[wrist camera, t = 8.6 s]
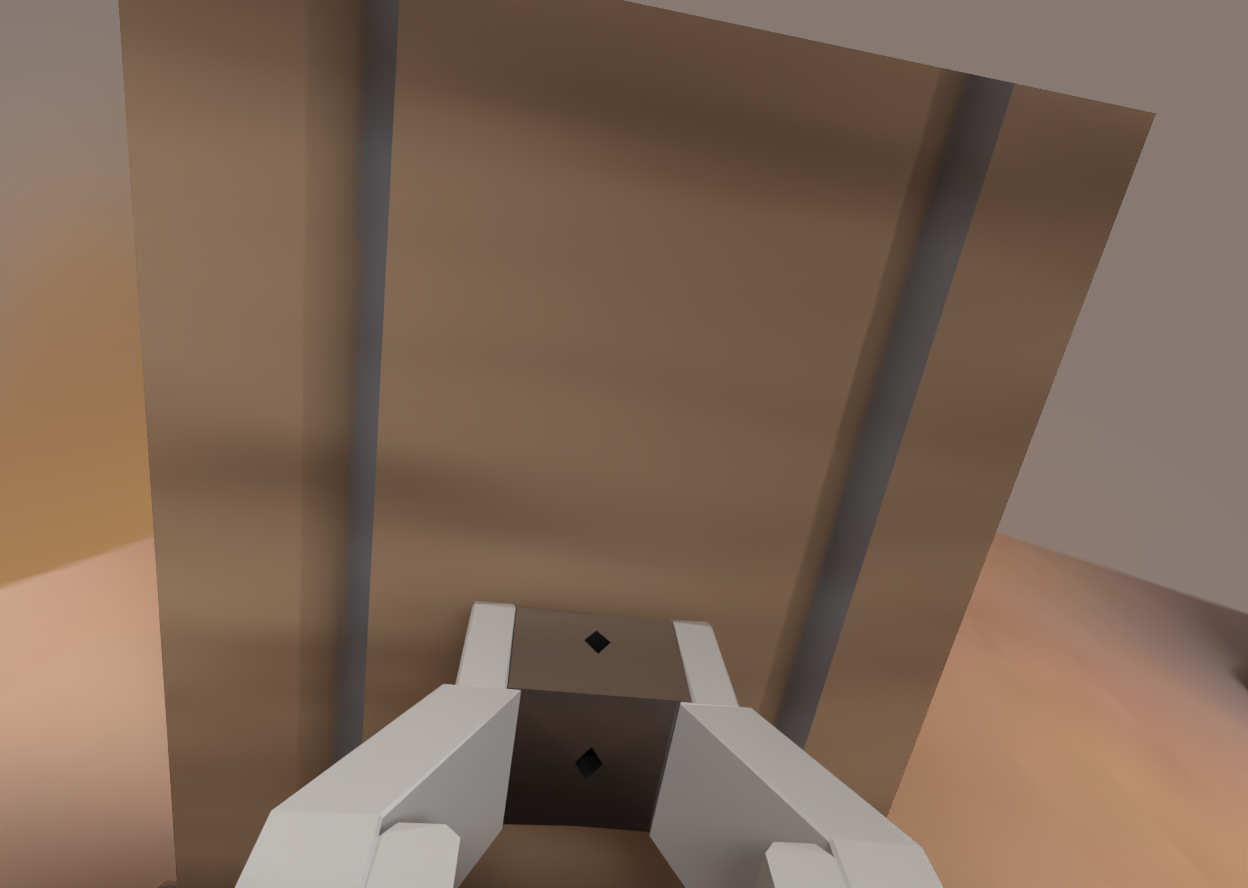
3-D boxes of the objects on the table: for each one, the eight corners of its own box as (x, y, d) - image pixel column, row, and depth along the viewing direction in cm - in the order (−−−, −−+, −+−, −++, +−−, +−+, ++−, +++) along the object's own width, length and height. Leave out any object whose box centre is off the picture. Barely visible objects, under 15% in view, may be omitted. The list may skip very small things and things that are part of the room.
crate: (844, 927, 11) (1156, 113, 7) (178, 901, 10) (110, -109, 6) (732, 629, 19) (855, 147, 15) (343, 592, 17) (363, 53, 13)
